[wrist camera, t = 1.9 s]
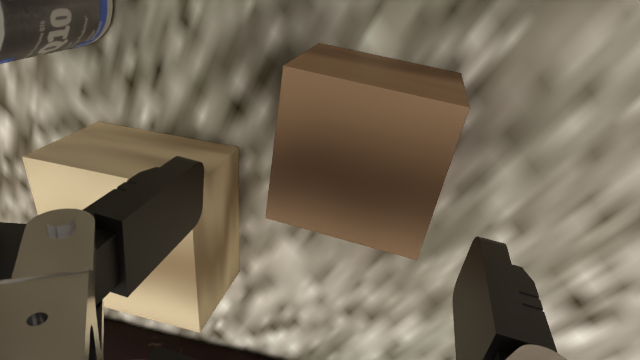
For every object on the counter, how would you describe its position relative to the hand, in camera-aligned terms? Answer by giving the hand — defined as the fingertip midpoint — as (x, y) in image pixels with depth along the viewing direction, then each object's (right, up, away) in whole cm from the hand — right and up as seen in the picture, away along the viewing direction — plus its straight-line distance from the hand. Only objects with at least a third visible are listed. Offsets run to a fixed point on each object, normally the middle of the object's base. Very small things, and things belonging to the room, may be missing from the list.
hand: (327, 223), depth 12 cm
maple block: (-8, 0, +12) cm, 14 cm away
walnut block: (+2, +4, +7) cm, 8 cm away
